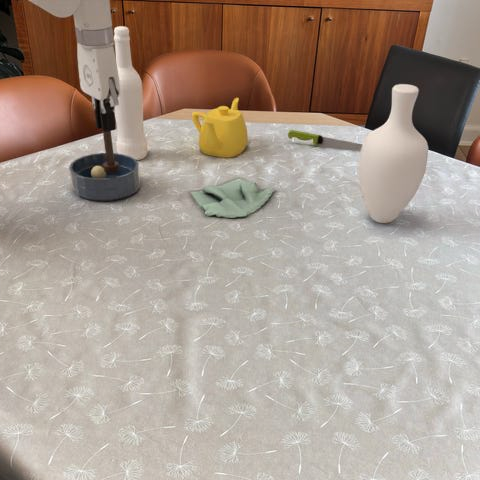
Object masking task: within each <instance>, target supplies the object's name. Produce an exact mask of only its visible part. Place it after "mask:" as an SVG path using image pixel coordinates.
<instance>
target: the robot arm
mask: <svg viewBox="0 0 480 480" xmlns="http://www.w3.org/2000/svg"><path fill="white" fill-rule="evenodd" d="M28 1H29V2H30V3H32V4H34V5H36V6H37V7H39V8H40V9H42V10H44V11H46V12H47V13H48V14H50V15H52V16H54V17H57V18H68V17H70V16H73V21H74V29H75V37H76V43H77V44H76V45H77V47H76V50H77V52H76V53H77V54H76V55H77V68H78V77H79V85H80V89H81V91H82V92H83V93H85V94H86V95H88V96H90V100H91V102H92V103H91V105H92V108H93V109H94V110H93V111H94V112H93V113H94V117H95V119H94V120H95V125H96V128H97V129H98V130H102V132H103V131H104V132H107V131H111V132H112V131H116V130H117V125H116V119H115V113H114V111H115V106H117V105H119V101H118V98H117V97H119V95H120V84H119V75H118V69H117V63H116V52H115V47H114V46H115V41H114V30H113V21H112V12H111V2H110V1H111V0H28ZM105 101H106V104H105ZM99 102H100V103H101V111H102V113H100V106H99Z"/></svg>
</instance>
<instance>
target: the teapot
mask: <svg viewBox="0 0 480 480" xmlns="http://www.w3.org/2000/svg"><path fill="white" fill-rule="evenodd" d="M239 101H240V99H239V97H235V98H234V99H233V100H232V103H231V108H229V107H228V106H226V105H221V106H220V105H219V106H218V107H216V108H212V109H211V110H209V111H208V112H207V113H205V112H202V111H193V112H192V113H191V119H192V122H193V125H194V126H195V128H196V130H197V131H198V132H199V135H198V146H199V149H200V151H201V153H202V154H204V155H207V156H212V157H218V158H227V159H229V158H230V159H231V158H234V157H236V156H237V157H238V155H240V154H241V153H243V152H244V150H245V149H246V146H247V144H248V139H249V137H248V129H247V124H246V121H245V117H244V116H243V114H242V112H241V110H239V108H238V105H239ZM200 118H203V120H202V123H201V122H200Z"/></svg>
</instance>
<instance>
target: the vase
mask: <svg viewBox="0 0 480 480" xmlns="http://www.w3.org/2000/svg"><path fill="white" fill-rule="evenodd" d="M419 91H420V89H419V88H418V86H415V85H413V84H409V83H408V84H407V83H398V84H395V85H394V86H392V88H391V110H390V113H389V116H388V119H387V120H386V121H385V123H384V124H382V125H381V126H379V127H377V128H375V129H373V130H372V131H370V132H369V133H368V134H367V135H366V136H365V138H364V139H363V141H362V144H363V145H362V148H361V149H360V153H359V158H358V163H357V164H358V166H357V172H358V173H357V174H358V185H359V191H360V194H361V197H362V199H363V202H364V204H365V208H366V210H367V212H368V215H369V216H370V218H371V219H372V220H373V221H375V222H376V223H380V224H388V223H392V222H393V221H395V220H396V219H397V218H398V217H399V216H400V214H401V213H402V212H403V211H404V210H405V208H406V207H407V206H408V205H409V204H410V202H411V201H412V200H413V198H414V197H415V195H416V194H417V192H418V190H419V189H420V186H421V184H422V181H423V179H424V177H425V174H426V171H427V170H426V169H427V164H428V158H429V145H428V141H427V140H426V138H425V137H424V136H423V135H422V134H421V133H420V132H419V131H418V130H417V129H416V127H415V126H414V123H413V111H414V106H415V103H416V101H417V98H418V95H419V93H420V92H419Z"/></svg>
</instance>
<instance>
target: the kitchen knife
mask: <svg viewBox="0 0 480 480" xmlns="http://www.w3.org/2000/svg"><path fill="white" fill-rule="evenodd" d="M287 137H288V138H289V139H290V140H291V139H292V138H296V139H298V140H300V141H311V140H312V147H314V148H315V147H322V148H330V149H338V150H339V149H340V150H349V151H361V148H362V145H363V143H358V142H352V141H347V140H342V139H337V138H332V137H327V136H322V135H321V134H315V133H311V132H305V131H301V130H296V129H295V130H293V129H290V130H289V131H288V133H287Z"/></svg>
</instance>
